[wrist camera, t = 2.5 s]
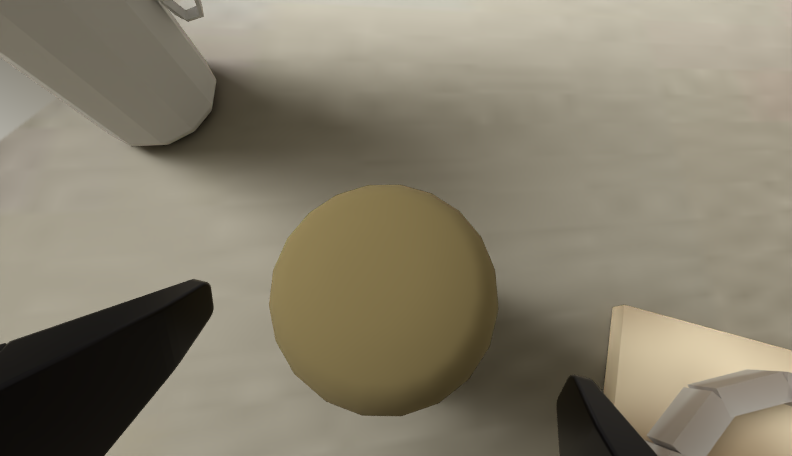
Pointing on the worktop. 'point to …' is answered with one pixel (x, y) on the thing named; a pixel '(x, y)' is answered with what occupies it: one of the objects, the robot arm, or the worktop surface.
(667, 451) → the seat
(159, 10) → the water bottle
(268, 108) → the worktop surface
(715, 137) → the worktop surface
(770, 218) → the worktop surface
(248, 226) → the worktop surface
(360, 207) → the cork
